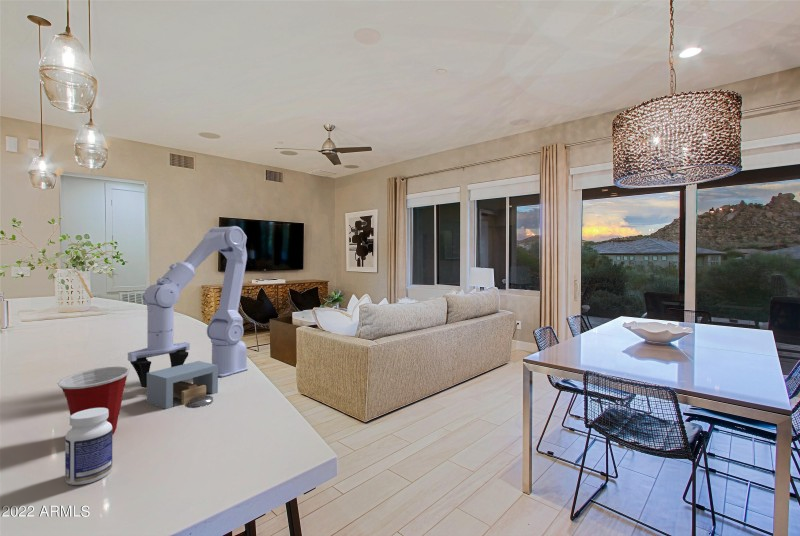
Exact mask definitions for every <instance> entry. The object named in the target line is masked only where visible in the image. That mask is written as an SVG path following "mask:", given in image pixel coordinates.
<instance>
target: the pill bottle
mask: <svg viewBox="0 0 800 536" xmlns="http://www.w3.org/2000/svg"><path fill="white" fill-rule="evenodd" d="M69 416H70V415H69ZM108 417H109V412H108V409H107V408H92V409H87V410H83V411H80V412H77V413H74V414H73V415H71V416H70V417H69V426H71V428H69V430H67V432H66V434H65V437H64V439H65V442H64V443H65V445H64V448H65V452H64V456H65V458H64V459H65V460H64V462H65V465H64V467H65V468H64V470H65V471H64V472H65V473H64V475H65V476H64V477H65V478H64V479H65V482H66V483H67V484H68V485H71V486H82V485H87V484H90V483H93V482H96V481H99V480H101V479H103V478H104V477H107V476H108V474H110V473H111V472H112V470H113V435H112V425H111V423H109V422H107V420H106V419H107V418H108Z"/></svg>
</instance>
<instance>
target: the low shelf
mask: <svg viewBox="0 0 800 536" xmlns="http://www.w3.org/2000/svg"><path fill="white" fill-rule="evenodd" d="M190 379H192V384H195V385H197V387H198V386H202V385H206V394H207V393H208V394H211V395H214V394H216V393H217V394H218V393H219V376H218V365H215V364H212V363H210V362H206V361H201V360H197V361H193V362H188V363H184V364H183V365H179V366H175V367H171V366H170V367H167V368H162V369H158V370H154V371H149V373H147V388H146V403H148V404H150V405H153V406H156V407H159V408H162V409H166V410H167V409H171V408H174V397H173V383H175V382H179V381H186V380H190Z"/></svg>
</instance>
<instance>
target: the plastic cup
mask: <svg viewBox="0 0 800 536" xmlns="http://www.w3.org/2000/svg"><path fill="white" fill-rule="evenodd" d="M129 374H130V368H129V367H127V366H120V365H119V366H118V365H117V366H103V367H97V368H93V369H88V370H84V371H80V372H77V373H74V374H71V375H68V376H66V377H64V378H62V379H60V380H59V381H58V382H57V386H58V387H59V389H61V390H62V393H64V397H65V398H66V402H67V406H68V410H69V414H70V415H69V416H71V415H73V414H74V413H77V412H80V411H83V410H87V409H92V408H107V409H108V412H109V417H108V418H107V419H106V420H107V422H109V423H111V425H112V436H113V435H114V434H115V433H116V429H117V427H118V421H119V416H120V413H121V408H122V401H123V397H124V391H125V386H126V381H127V377H128V375H129Z"/></svg>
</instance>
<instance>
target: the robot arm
mask: <svg viewBox="0 0 800 536" xmlns="http://www.w3.org/2000/svg"><path fill="white" fill-rule="evenodd" d="M247 239H248V237H247V235H246V233H245V232H244V230H243V229H242V228H241V227H239V226H237V225H233V226H220V227H219V226H214V227H212V228H210V229H209V230H208V232H206V233H205V234H204V235H203V238H202V240H201V241H200V242H199V243H198V244H197V246H196V247H195V248H194V249H193V251H192V252H191V253H190V254H189V255H188V256H187V257H186V258H185V260H183V261H182V262H181V261H179V262H178V261H177V262H175V263H171V265H169V267H168V268H169V270H167V272H166V273H164V275H163V276H162V277H161V278H160V277H158V279H156V283H154V284H151V285H149V286H148V287H147V288H146V290H145V291H144V293H143V295H142V296H141V297H142V298H141V299H142V301H143V302H144V304H145V305H146V307H147V308H146V309H147V310H146V311H147V325H146V326H147V328H146V329H147V333H146V334H147V345H146V346H147V347H145V348H142V349H138V350H134V351H130V352H127V361H128V362H130V364H131V365H132V367H133V369H134V370H135V372H136V374H137V376H138V380H139V383H140V387H141V388H144V389H147V373H149V372H150V371H151V370H150V369H151V365H152V361H150V360H148V358H153V357H157V356H161V355H162V356H164V355H168V356H169V360H170V367H175V366H179V365H183V364H185V362H186V360H187V358H188V357H189V352H188V351H190V350H191V349H190V348H191V346H190V345H191V344H190V342H186V341H185V342H179V343H174V313H175V312H174V305H175V304H176V303H178V301H179V299H180V293H181V292H182V291H183V289H184V288H185V287H187V285H188V284H189V283H190V282H191V280H192V279H193V278H194V277H195V276H196V273H195V272H196V271H195V270H196V269H197V268H198V267H199V266H200V265H201V264H202V263H203V262H204V261H205V260H206V259H207V258H209V256H210V255H212V253H214V252H215V251H219V252H220V253H221V254H222V255H223V256H224V257H225V259H226V265H225V266H226V267H225V270H224V271H225V272H224V277H223V283H222V288H221V292H220V300H219V305H218V310H216V311H215V312H214V313H213V314H212V316H211V320H210V321H209V323H208V325H207V327H206V335H207V337H208V338H209V339H210V343H211V364H215V365H218V377H221V378H222V377H223V378H224V377H226V376H230V375H233V374H237V373H241V372H244V371H247V370H249V367H247V363H248V362H247V359H248V353H247V352H248V351H247V350H248V348H247V345H246V343H245V341H242V340H241V339H242V338H243V336H244V326H243V325H244V324H243V321H244V318H243V317H242V315H241V314H240V313H239V306H240V301H241V295H242V289H243V283H244V277H245V271H246V267H247V266H246V265H247V261H248V252H247V247H246V244H247Z"/></svg>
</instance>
